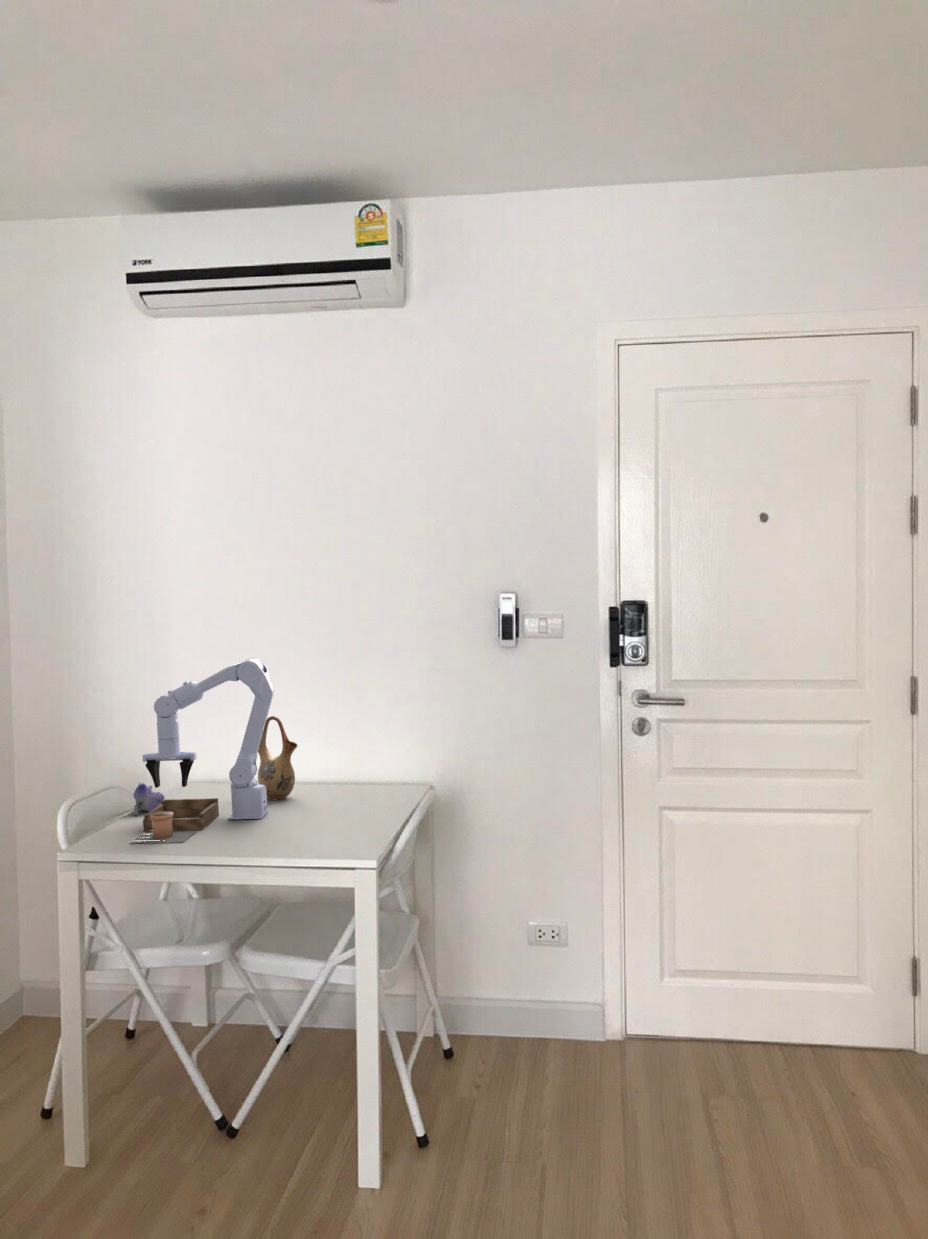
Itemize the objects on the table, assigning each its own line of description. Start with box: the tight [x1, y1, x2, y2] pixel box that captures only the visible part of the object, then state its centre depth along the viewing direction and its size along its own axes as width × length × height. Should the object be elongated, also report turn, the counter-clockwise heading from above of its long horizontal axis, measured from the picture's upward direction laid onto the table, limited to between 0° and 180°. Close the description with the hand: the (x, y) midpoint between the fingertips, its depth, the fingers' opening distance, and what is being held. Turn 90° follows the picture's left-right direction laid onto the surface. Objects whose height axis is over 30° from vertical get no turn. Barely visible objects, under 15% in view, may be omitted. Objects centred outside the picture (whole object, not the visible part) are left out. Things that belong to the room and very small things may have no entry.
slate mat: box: [130, 831, 196, 845], centre depth 262 cm, size 14×10×1 cm
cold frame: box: [142, 797, 220, 831], centre depth 277 cm, size 16×15×5 cm
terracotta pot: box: [150, 811, 174, 839], centre depth 262 cm, size 6×6×6 cm
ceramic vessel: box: [257, 715, 299, 800], centre depth 302 cm, size 16×9×25 cm, turn 62°
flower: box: [132, 781, 165, 817], centre depth 291 cm, size 9×9×10 cm
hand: (171, 786), depth 280 cm, fingers open, 7 cm apart
